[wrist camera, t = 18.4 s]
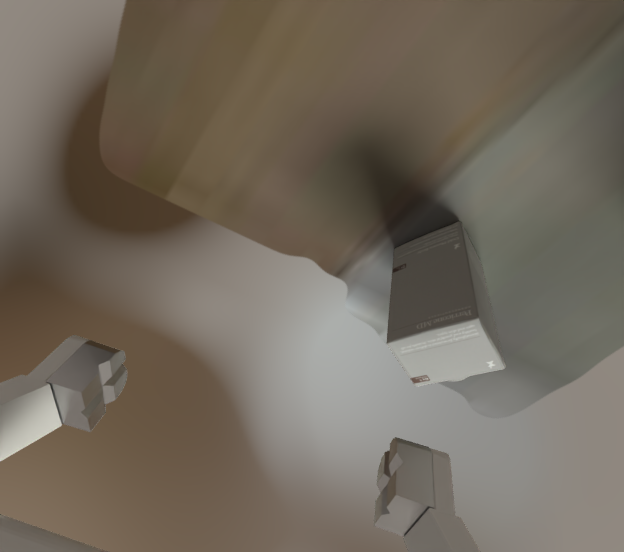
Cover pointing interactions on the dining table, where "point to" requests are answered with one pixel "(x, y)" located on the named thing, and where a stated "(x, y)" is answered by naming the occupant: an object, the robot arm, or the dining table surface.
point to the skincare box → (441, 310)
